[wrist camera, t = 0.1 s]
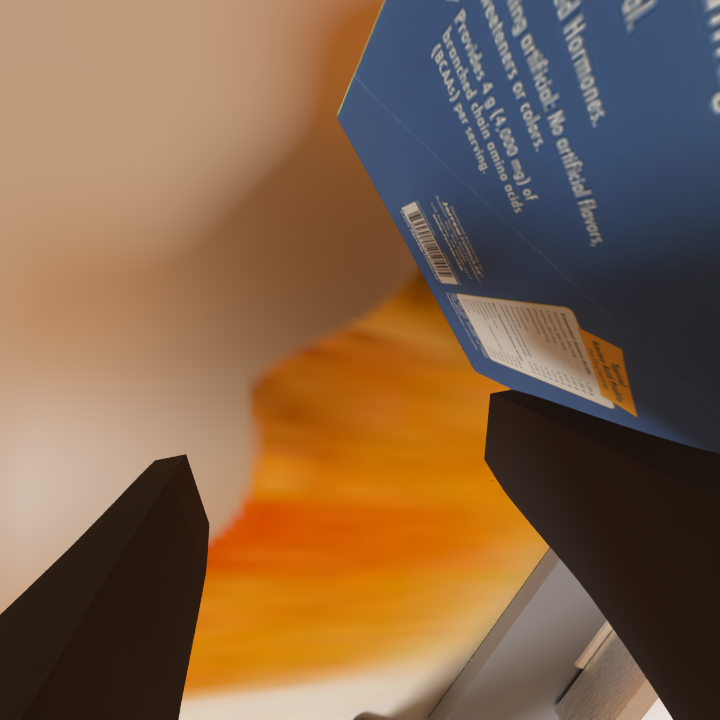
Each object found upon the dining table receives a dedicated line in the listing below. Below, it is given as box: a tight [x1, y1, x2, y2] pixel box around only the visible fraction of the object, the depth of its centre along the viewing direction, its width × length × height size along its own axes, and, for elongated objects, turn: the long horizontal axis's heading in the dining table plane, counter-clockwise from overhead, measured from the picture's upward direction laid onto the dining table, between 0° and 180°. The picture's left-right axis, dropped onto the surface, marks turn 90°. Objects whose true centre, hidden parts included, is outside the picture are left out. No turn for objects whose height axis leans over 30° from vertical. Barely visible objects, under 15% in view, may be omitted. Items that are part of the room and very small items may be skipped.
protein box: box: [337, 0, 720, 454], centre depth 12 cm, size 10×15×16 cm
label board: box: [428, 548, 613, 720], centre depth 28 cm, size 24×18×1 cm
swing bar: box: [554, 630, 659, 720], centre depth 26 cm, size 18×3×3 cm, turn 147°
